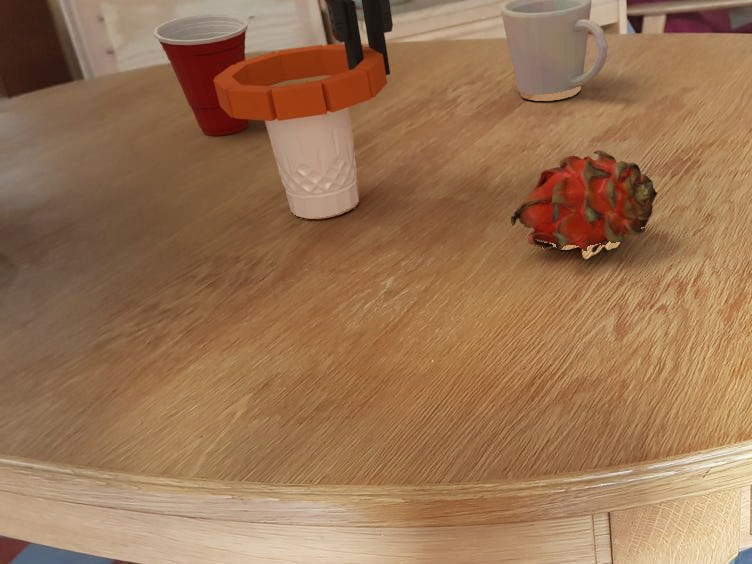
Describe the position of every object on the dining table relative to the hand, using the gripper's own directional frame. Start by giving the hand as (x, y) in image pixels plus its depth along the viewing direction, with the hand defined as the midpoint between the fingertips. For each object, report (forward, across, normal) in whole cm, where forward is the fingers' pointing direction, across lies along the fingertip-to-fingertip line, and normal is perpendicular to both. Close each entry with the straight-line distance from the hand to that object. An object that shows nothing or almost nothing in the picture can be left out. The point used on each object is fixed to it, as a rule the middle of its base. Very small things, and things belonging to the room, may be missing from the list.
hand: (369, 74), depth 87 cm
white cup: (+11, -7, 0) cm, 13 cm away
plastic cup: (+11, -9, +33) cm, 36 cm away
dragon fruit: (+11, +8, -24) cm, 28 cm away
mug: (+11, +28, +15) cm, 34 cm away
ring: (0, -6, 0) cm, 7 cm away
